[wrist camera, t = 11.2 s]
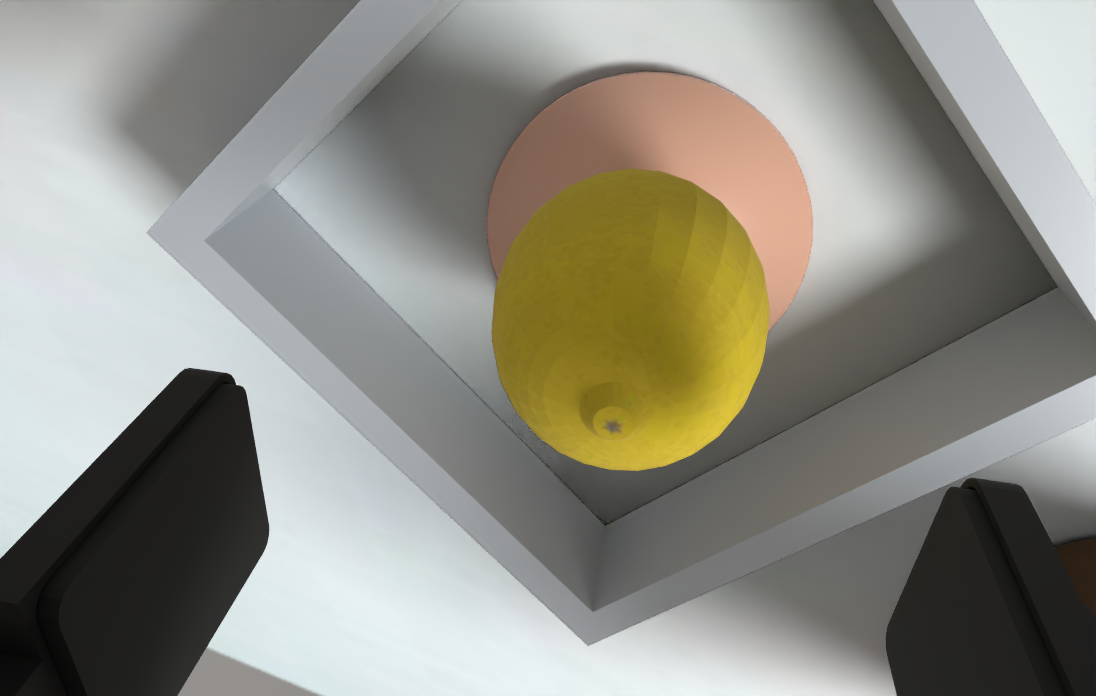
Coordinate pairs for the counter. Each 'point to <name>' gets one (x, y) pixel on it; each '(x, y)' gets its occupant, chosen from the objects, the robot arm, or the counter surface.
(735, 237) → the lemon
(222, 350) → the counter surface
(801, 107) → the counter surface
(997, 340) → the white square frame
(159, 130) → the counter surface
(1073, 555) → the brown glass bottle
